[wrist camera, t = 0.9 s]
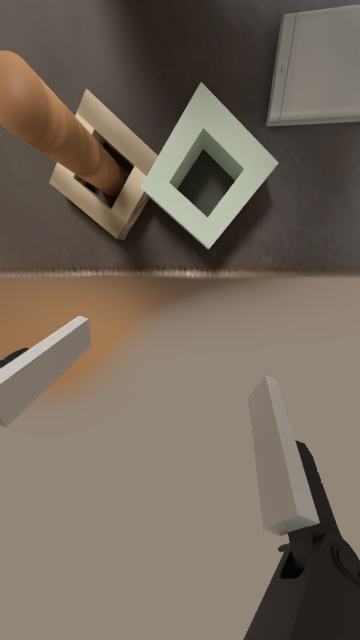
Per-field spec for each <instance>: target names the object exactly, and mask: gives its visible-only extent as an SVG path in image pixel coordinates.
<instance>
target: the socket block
mask: <svg viewBox="0 0 360 640" xmlns="http://www.w3.org/2000/svg"><path fill="white" fill-rule="evenodd" d="M203 149H204V150H205V151H206V152H207V153H208V154H209V155H210V156H211V157H212V158H213V159H214V160H215V161H216V162H217V163H218V164H219V165H220V166H221V167H222V168H223V169H224V170H225V171H226V172H227V173H228V174H229V175H230V176H231V177H232V178H233V179H234V180H235V182H234V183H233V185H232V186H231V187H230V189H229V190H228V191H227V193H226V194H225V195H224V197H223V198H222V199H221V201H220V202H219V203H218V205H217V206H216V207H215V209H214V210H213V211H212V213H211V214H210V215H209V217H208V218H207V217H206V216H205V215H204V214H203V213H202V212H201V211H200V210H198V209H197V208H196V207H195V206H194V205H193V204H192V203H191V202H190V201H189V200H188V199H187V198H186V197H184V196H183V195H182V194H181V193H180V192H179V191H178V190H177V189H178V187H179V186H180V184H181V182H182V181H183V179H184V178H185V176H186V175H187V173H188V172H189V170H190V169H191V167H192V165H193V164H194V162H195V161H196V159H197V158H198V156H199V155H200V153H201V152H202V150H203ZM277 164H278V162H277V161H276V160H275V159H274V158H273V156H272V155H271V154H270V153H269V152H268V151H267V150H266V149H265V148H264V147H263V146H262V145H261V144H260V143H259V142H258V141H257V140H256V139H255V138H254V137H253V136H252V135H251V133H250V132H249V131H248V130H247V129H246V128H245V127H244V126H243V125H242V124H241V123H240V122H239V121H238V120H237V119H236V118H235V117H234V116H233V115H232V114H231V113H230V111H229V110H228V109H227V108H226V107H225V106H224V105H223V104H222V103H221V102H220V101H219V100H218V99H217V98H216V97H215V96H214V95H213V94H212V93H211V92H210V91H209V89H208V88H207V87H206V86H205V85H204V84H203V83H202V82H201V83H200V85H199V86H198V88H197V90H196V91H195V93H194V95H193V97H192V98H191V100H190V102H189V104H188V105H187V107H186V109H185V111H184V112H183V114H182V116H181V118H180V119H179V121H178V123H177V125H176V126H175V128H174V130H173V131H172V133H171V135H170V137H169V138H168V140H167V142H166V144H165V145H164V147H163V149H162V151H161V152H160V154H159V156H158V158H157V159H156V161H155V163H154V165H153V166H152V168H151V170H150V171H149V173H148V175H147V177H146V178H145V180H144V182H143V184H142V185H141V187H140V188H141V189H142V190H143V191H144V192H145V193H146V194H147V195H148V197H149V198H150V199H152V200H153V201H154V202H155V203H156V204H157V205H158V206H159V207H161V208H162V209H163V210H164V211H165V212H166V213H167V214H168V215H169V216H171V217H172V218H173V219H174V220H175V221H176V222H177V223H178V224H180V225H181V226H182V227H183V228H184V229H185V230H186V231H187V232H188V233H190V234H191V235H192V236H193V237H194V238H195V239H196V240H197V241H198V242H200V243H201V244H202V245H203V246H204V247H205V248H206V249H207V250H209V248H210V247H211V246H212V245H213V244H214V242H215V241H216V240H217V239H218V237H219V236H220V235H221V234H222V232H223V231H224V230H225V229H226V227H227V226H228V225H229V224H230V223H231V221H232V220H233V219H234V218H235V216H236V215H237V214H238V213H239V211H240V210H241V209H242V208H243V206H244V205H245V204H246V203H247V201H248V200H249V199H250V198H251V197H252V195H253V194H254V193H255V192H256V190H257V189H258V188H259V187H260V185H261V184H262V183H263V182H264V180H265V179H266V178H267V177H268V176H269V174H270V173H271V172H272V171H273V169H274V168H275V167H276V166H277Z"/></svg>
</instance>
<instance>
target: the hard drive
mask: <svg viewBox="0 0 360 640" xmlns="http://www.w3.org/2000/svg"><path fill="white" fill-rule="evenodd" d="M343 122H360V5H352V6H344V7H335V8H327V9H319V10H312V11H304V12H297V13H290V14H284V16H283V18H282V21H281V24H280V31H279V38H278V45H277V53H276V60H275V67H274V74H273V81H272V88H271V95H270V102H269V109H268V116H267V123H266V126H287V125H306V124H324V123H343Z"/></svg>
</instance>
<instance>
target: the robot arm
mask: <svg viewBox="0 0 360 640" xmlns="http://www.w3.org/2000/svg"><path fill="white" fill-rule="evenodd" d="M90 347H91V340H90V330H89V320H88V319H87V318H84V317H81V316H79V317H77V318H75V319H74V320H72V321H71V322H69V323H68V324H66V325H65V326H63V327H62V328H60V329H59V330H58V331H56V332H54V333H53V334H51V335H50V336H48V337H47V338H45V339H44V340H43V341H41V342H39V343H38V344H37V345H35V346H34V347H32V348H31V349H28V348H23V349H21V350H18V351H16V352H13V353H12V354H10V355H9V356H7V357H6V358H4V360H1V361H0V425H1V426H4V427H7V426H8V425H9V424H10V423H11V422H12V421H13V420H15V419H16V418H17V417H18V416H19V415H20V414H21V413H22V412H23V411H24V410H25V409H26V408H27V407H28V406H29V405H30V404H31V403H32V402H33V401H34V400H35V399H36V398H38V397H39V396H40V395H41V394H42V393H43V392H44V391H45V390H46V389H47V388H48V387H49V386H50V385H51V384H52V383H53V382H54V381H55V380H56V379H57V378H58V377H60V376H61V375H62V374H63V373H64V372H65V371H66V370H67V369H68V368H69V367H70V366H71V365H72V364H73V363H74V362H75V361H76V360H77V359H78V358H79V357H80V356H82V355H83V354H84V353H85V352H86V351H87V350H88V349H89V348H90ZM249 407H250V415H251V425H252V433H253V442H254V450H255V460H256V469H257V477H258V486H259V495H260V504H261V513H262V521H263V529H265V530H267V531H270V532H272V533H275V534H277V535H280V536H281V535H285V534H288V536H289V541H290V543H288V544H284V545H281V546H280V547H279V548H278V550H279V552H283V551H285V552H284V554H283V556H282V558H281V560H280V562H279V564H278V567H277V569H276V571H275V573H274V575H273V578H272V580H271V582H270V584H269V586H268V588H267V590H266V592H265V595H264V597H263V599H262V601H261V603H260V605H259V607H258V610H257V612H256V614H255V616H254V618H253V621H252V623H251V625H250V627H249V629H248V631H247V633H246V635H245V638H244V640H360V560H359V559H358V557H357V555H356V553H355V552H354V551H353V549H352V548H351V547H350V545H349V544H348V543H347V542H346V541H345V540H344V539H343V538H342V536H341V534H340V532H339V529H338V527H337V524H336V521H335V518H334V516H333V513H332V510H331V507H330V505H329V502H328V499H327V496H326V493H325V490H324V487H323V485H322V483H321V479H320V476H319V473H318V472H317V467H316V465H315V462H314V459H313V456H312V455H311V453H310V451H309V450H308V448H307V447H306V445H305V444H304V443H301V442H299V441H296V440H295V438H294V435H293V432H292V428H291V425H290V422H289V418H288V415H287V412H286V409H285V405H284V402H283V398H282V395H281V392H280V389H279V385H278V382H277V379H276V378H273V377H270V376H267V375H265V376H264V377H263V379H262V380H261V382H260V383H259V385H258V386H257V388H256V389H255V390H254V392H253V393H252V395H251V396H250V398H249Z"/></svg>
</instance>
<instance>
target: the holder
mask: <svg viewBox="0 0 360 640" xmlns="http://www.w3.org/2000/svg"><path fill="white" fill-rule="evenodd" d="M75 117H76V118H77V119H78V120H79V121H80V123H81V124H82V125H83V126H84V127H85V128H86V129H87V130H88V131H89V132H90V133H91V135H92V136H93V137H94V138H95V139H96V140H97V141H98V142H99V143H100V144H101V146H102V147H103V145H104V143H105V142H106V143H107V144H108V145H109V146H111V147H112V148H113V149H114V150H115V151H116V152H117V153H118V154H119V155H120V156H122V157H123V158H124V159H125V160H126V161H127V162H128V163H129V164H130V165H131V166H133V167H134V168H133V170H132V172H131V174H130V176H129V177H128V179H127V181H126V183H125V185H124V187H123V188H122V190H121V192H120V194H119V196H118V198H117V200H116V201H115V203H114V205H113V207H112V208H111V207H110V206H109V205H108V204H106V203H105V202H104V201H103V200H102V199H101V198H99V197H98V196H97V195H96V194H95V193H94V192H92V191H91V190H90V189H89V188H88V187H87V186H85V184H86V182H87V181H85V180H84V179H82V178H81V177H79V176H78V175H76V174H75V173H73V172H72V171H70V170H68V169H67V168H65V167H64V166H62V165H61V164H59V163H58V162H57V164H56V167H55V169H54V172H53V174H52V177H51V180H50V182H49V183H50V184H52V185H53V186H54V187H55V188H56V189H58V190H59V191H60V192H61V193H62V194H64V195H65V196H66V197H67V198H68V199H70V200H71V201H72V202H73V203H74V204H76V205H77V206H78V207H79V208H80V209H82V210H83V211H84V212H85V213H86V214H88V215H89V216H90V217H91V218H92V219H94V220H95V221H96V222H97V223H98V224H100V225H101V226H102V227H103V228H104V229H106V230H107V231H108V232H109V233H110V234H112V235H113V236H114V237H115V238H116V239H121V240H124V239H125V238H126V236H127V234H128V233H129V231H130V229H131V228H132V226H133V224H134V223H135V221H136V219H137V218H138V216H139V214H140V213H141V211H142V210H143V208H144V206H145V205H146V203H147V201H148V200H149V197H148V195H147V194H146V193H145V192H144V191H143V190H142V189H141V188H140V187H141V185H142V184H143V182H144V180H145V178H146V177H147V175H148V173H149V171H150V170H151V168H152V166H153V165H154V163H155V161H156V159H157V158H158V155H157V154H155V153H154V152H153V151H152V150H151V149H150V148H149V147H148V146H147V145H146V144H145V143H144V142H143V141H142V140H141V139H139V138H138V137H137V136H136V135H135V134H134V133H133V132H132V131H131V130H130V129H129V128H128V127H127V126H126V125H125V124H124V123H122V122H121V121H120V120H119V119H118V118H117V117H116V116H115V115H114V114H113V113H112V112H111V111H110V110H109V109H108V108H106V107H105V106H104V105H103V104H102V103H101V102H100V101H99V100H98V99H97V98H96V97H95V96H94V95H93V94H92V93H91V92H89V91H88V90H87V89H86V90H85V93H84V95H83V98H82V100H81V103H80V106H79V108H78V111H77V113H76V116H75Z"/></svg>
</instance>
